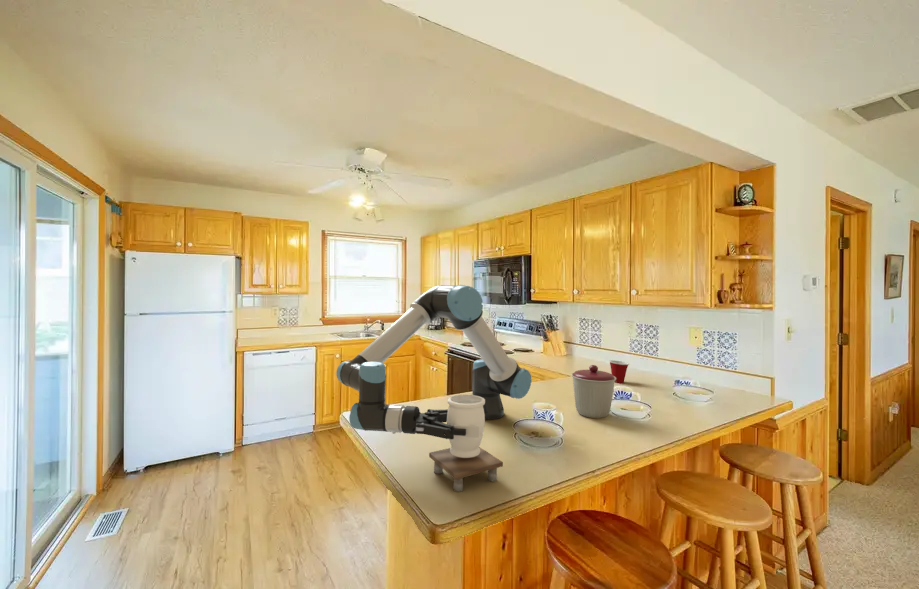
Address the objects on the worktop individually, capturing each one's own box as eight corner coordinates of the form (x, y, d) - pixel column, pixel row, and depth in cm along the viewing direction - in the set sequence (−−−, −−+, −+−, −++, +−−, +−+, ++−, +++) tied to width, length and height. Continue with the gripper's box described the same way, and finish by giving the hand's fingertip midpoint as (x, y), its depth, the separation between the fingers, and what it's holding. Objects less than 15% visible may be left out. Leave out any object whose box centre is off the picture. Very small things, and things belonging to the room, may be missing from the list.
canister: (565, 407, 173) (566, 360, 172) (606, 408, 172) (607, 361, 172) (576, 421, 155) (578, 369, 154) (622, 422, 154) (623, 370, 154)
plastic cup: (632, 384, 217) (632, 363, 217) (612, 384, 217) (613, 363, 217) (624, 380, 228) (624, 360, 228) (605, 379, 228) (606, 359, 228)
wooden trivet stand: (428, 470, 110) (429, 452, 110) (472, 459, 118) (472, 442, 118) (455, 495, 98) (455, 474, 97) (502, 480, 105) (502, 462, 105)
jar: (484, 445, 112) (485, 394, 112) (483, 461, 102) (484, 405, 102) (448, 443, 113) (449, 393, 113) (443, 459, 103) (444, 403, 103)
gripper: (414, 419, 122) (484, 424, 118) (390, 448, 99) (476, 455, 96) (414, 395, 122) (484, 400, 118) (391, 419, 99) (476, 425, 96)
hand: (480, 424), depth 107 cm, fingers closed on jar, 10 cm apart
